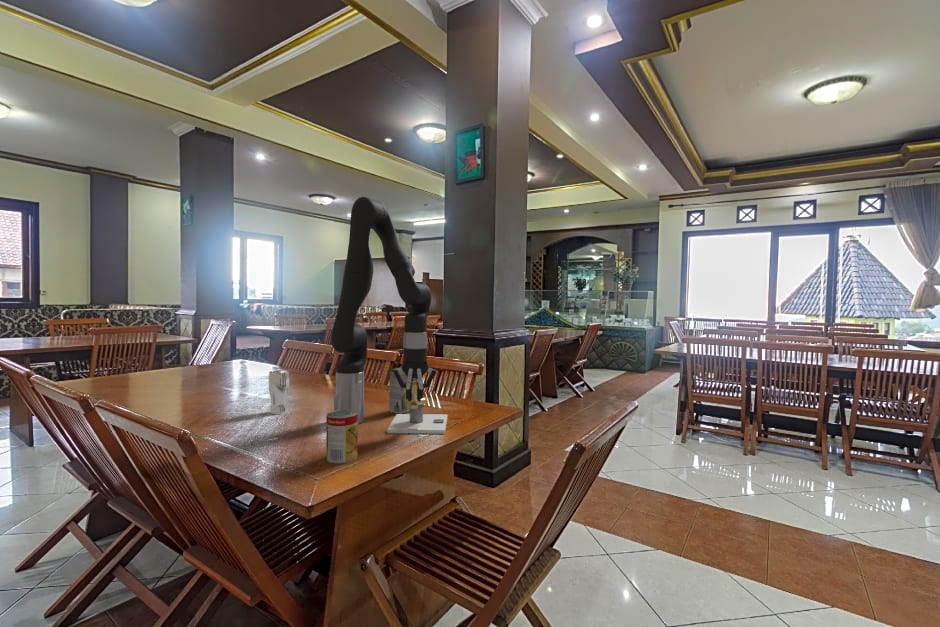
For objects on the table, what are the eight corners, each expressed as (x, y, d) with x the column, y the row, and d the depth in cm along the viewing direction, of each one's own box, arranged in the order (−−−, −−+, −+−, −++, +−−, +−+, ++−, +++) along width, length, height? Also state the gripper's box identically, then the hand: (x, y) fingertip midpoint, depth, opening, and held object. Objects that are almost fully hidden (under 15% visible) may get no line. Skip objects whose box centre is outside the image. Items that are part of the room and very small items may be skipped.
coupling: (402, 409, 135) (402, 383, 135) (407, 400, 148) (407, 375, 147) (425, 409, 135) (425, 383, 135) (427, 400, 148) (427, 375, 148)
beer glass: (284, 414, 155) (284, 373, 154) (265, 414, 155) (264, 373, 154) (292, 409, 162) (292, 370, 161) (274, 409, 162) (273, 369, 161)
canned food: (360, 452, 119) (360, 409, 118) (353, 463, 111) (353, 417, 110) (331, 452, 118) (331, 409, 118) (322, 463, 111) (322, 417, 110)
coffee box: (405, 407, 168) (405, 365, 168) (417, 409, 165) (418, 367, 164) (388, 412, 160) (388, 369, 160) (401, 414, 157) (401, 370, 156)
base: (387, 433, 136) (387, 410, 135) (396, 417, 154) (396, 397, 153) (444, 434, 136) (444, 411, 135) (447, 417, 154) (447, 397, 153)
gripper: (391, 347, 132) (391, 403, 132) (437, 347, 133) (436, 403, 134) (393, 344, 139) (393, 398, 140) (437, 345, 141) (436, 397, 141)
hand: (414, 400), depth 137 cm, fingers closed on coupling, 2 cm apart
